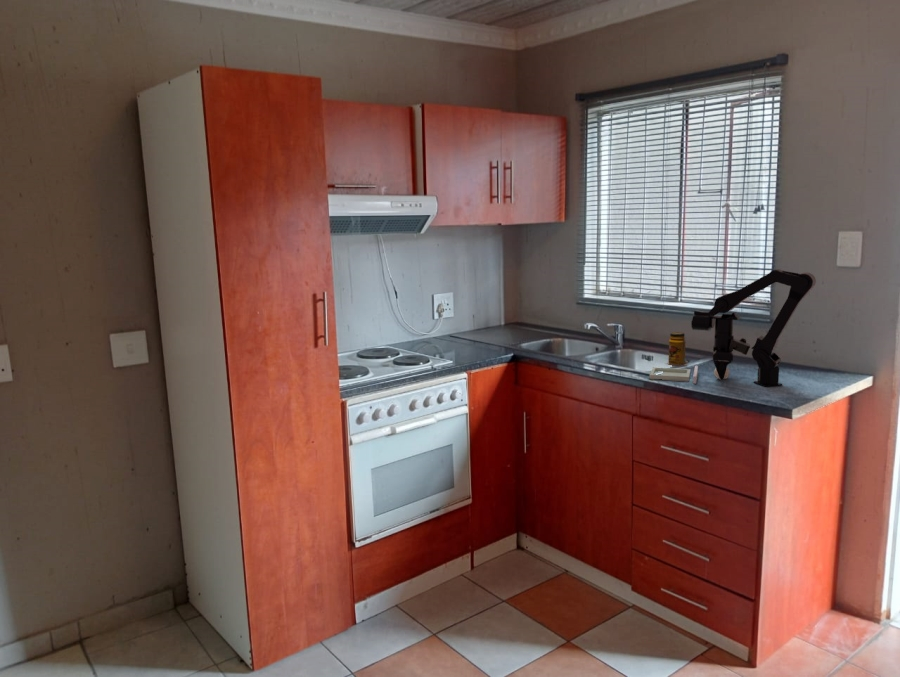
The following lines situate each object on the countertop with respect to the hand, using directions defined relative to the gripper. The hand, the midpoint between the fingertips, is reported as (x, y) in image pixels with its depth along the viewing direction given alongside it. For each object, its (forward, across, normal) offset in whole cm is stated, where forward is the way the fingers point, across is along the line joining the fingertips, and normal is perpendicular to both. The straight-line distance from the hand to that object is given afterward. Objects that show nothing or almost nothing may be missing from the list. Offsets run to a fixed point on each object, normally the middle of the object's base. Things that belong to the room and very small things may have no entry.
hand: (721, 376), depth 237 cm
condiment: (+1, +24, +16) cm, 29 cm away
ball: (-1, 0, 0) cm, 1 cm away
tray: (+1, 0, +17) cm, 17 cm away
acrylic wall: (+1, 0, +8) cm, 9 cm away
